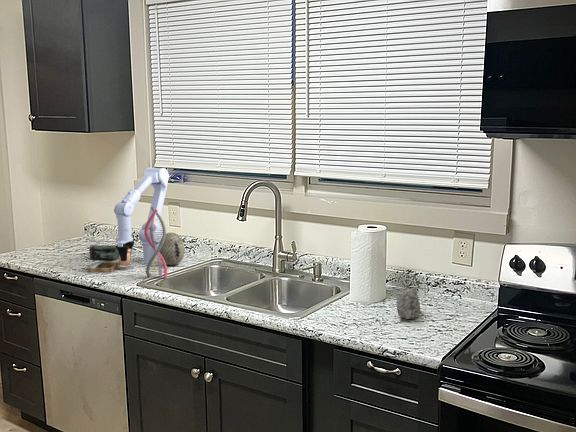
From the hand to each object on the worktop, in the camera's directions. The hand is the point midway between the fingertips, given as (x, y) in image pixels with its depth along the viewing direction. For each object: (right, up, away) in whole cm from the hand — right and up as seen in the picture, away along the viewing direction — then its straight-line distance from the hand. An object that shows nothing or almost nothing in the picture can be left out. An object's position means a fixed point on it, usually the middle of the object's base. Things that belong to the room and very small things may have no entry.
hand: (125, 259), depth 280 cm
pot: (-1, -2, 0) cm, 2 cm away
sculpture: (-15, -2, +19) cm, 25 cm away
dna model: (+17, -7, -14) cm, 23 cm away
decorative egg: (+19, -3, +9) cm, 21 cm away
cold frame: (-10, -5, 0) cm, 11 cm away
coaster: (0, -4, +1) cm, 4 cm away
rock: (+114, -15, -63) cm, 131 cm away
